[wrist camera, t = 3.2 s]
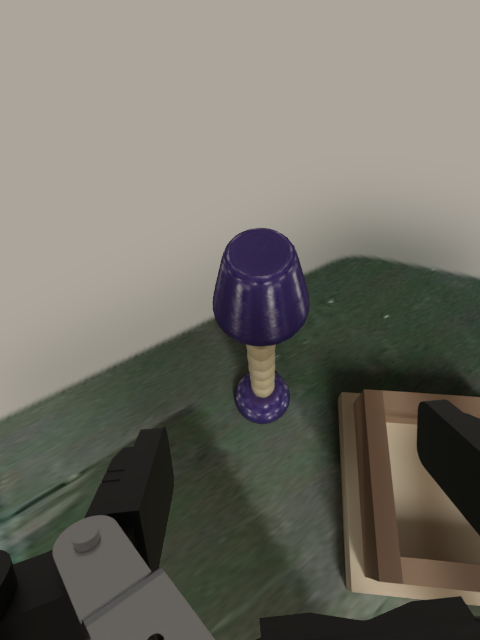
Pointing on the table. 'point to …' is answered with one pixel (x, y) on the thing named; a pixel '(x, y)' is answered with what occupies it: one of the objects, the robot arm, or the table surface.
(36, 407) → the table surface
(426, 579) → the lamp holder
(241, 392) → the toy lamp
